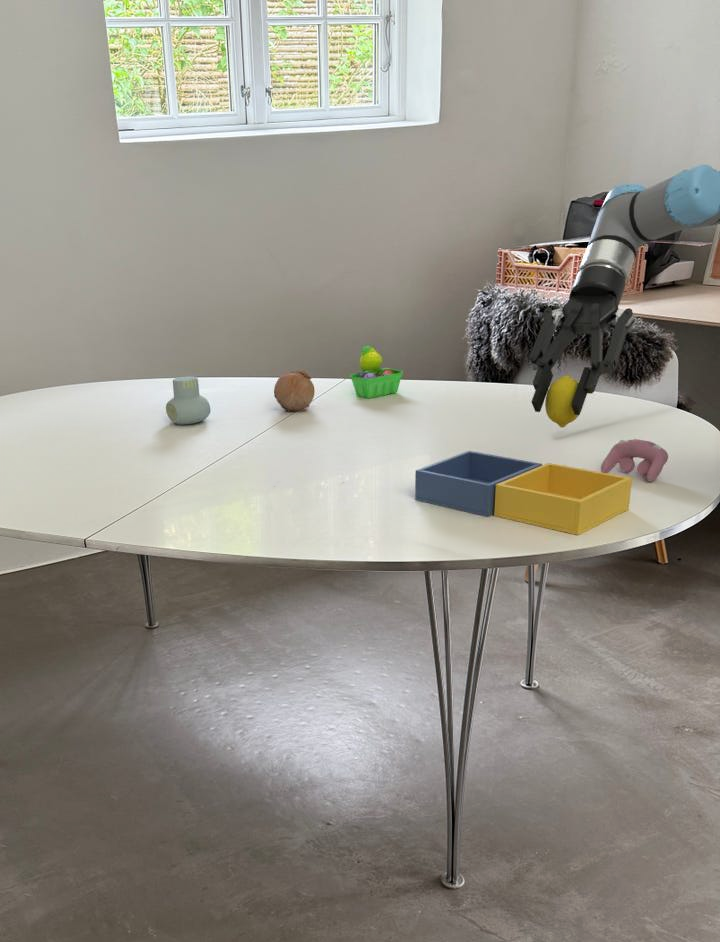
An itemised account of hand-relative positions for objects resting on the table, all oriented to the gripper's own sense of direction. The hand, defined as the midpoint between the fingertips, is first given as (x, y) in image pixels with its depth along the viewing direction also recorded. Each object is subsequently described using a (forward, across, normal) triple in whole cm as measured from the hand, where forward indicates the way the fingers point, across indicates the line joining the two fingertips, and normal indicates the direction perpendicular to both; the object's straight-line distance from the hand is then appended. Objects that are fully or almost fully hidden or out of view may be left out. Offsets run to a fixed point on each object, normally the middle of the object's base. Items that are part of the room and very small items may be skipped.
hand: (555, 408), depth 143 cm
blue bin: (+10, +13, -13) cm, 21 cm away
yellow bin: (+11, -2, -11) cm, 16 cm away
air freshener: (-7, +96, -30) cm, 100 cm away
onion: (-21, +78, -43) cm, 92 cm away
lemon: (0, 0, -6) cm, 6 cm away
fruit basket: (-36, +69, -58) cm, 97 cm away
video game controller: (-5, -6, -28) cm, 29 cm away
